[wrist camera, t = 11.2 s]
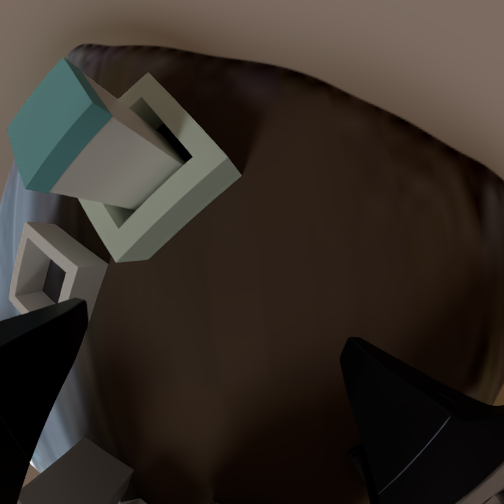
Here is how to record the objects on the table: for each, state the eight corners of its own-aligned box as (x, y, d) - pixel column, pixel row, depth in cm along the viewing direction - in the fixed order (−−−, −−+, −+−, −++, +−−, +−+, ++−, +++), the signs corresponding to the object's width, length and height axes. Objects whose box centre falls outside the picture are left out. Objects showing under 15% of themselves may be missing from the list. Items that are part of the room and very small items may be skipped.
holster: (108, 264, 22) (78, 267, 18) (84, 339, 23) (56, 351, 19) (55, 224, 23) (25, 221, 19) (35, 293, 24) (8, 298, 20)
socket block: (241, 175, 20) (228, 157, 16) (148, 259, 21) (115, 262, 17) (171, 98, 21) (148, 72, 16) (93, 175, 22) (60, 164, 18)
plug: (196, 174, 21) (92, 102, 8) (152, 214, 21) (25, 189, 9) (164, 135, 21) (63, 57, 9) (124, 174, 22) (7, 129, 9)
